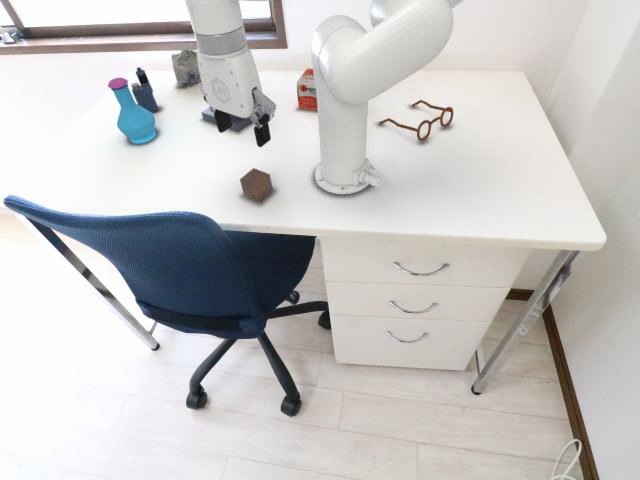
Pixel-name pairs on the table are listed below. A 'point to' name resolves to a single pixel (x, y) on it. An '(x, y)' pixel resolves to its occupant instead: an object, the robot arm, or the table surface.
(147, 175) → the table surface
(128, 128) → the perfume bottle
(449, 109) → the glasses
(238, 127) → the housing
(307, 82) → the drink carton
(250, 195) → the block
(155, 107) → the vaping device
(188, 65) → the mineral rock
